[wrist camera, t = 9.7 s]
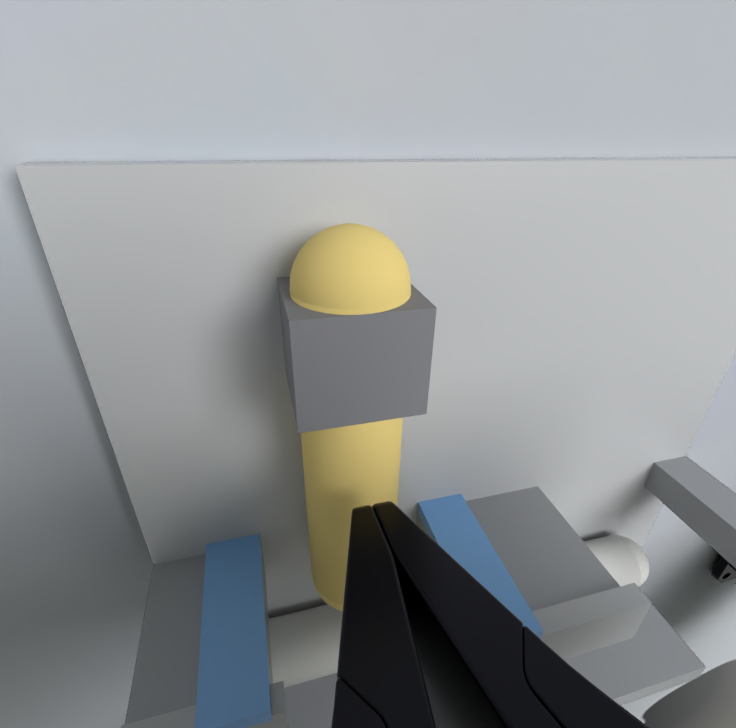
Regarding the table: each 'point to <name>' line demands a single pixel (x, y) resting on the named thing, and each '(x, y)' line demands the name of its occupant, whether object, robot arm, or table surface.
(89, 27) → the table surface
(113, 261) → the pipe mounting panel
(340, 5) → the table surface
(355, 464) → the yellow capsule with collar
